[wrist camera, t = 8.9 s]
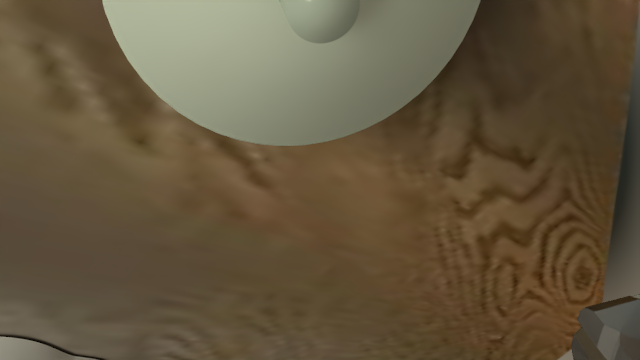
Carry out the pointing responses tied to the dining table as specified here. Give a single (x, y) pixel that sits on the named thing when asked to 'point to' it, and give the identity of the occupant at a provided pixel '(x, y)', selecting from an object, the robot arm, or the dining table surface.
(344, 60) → the lid
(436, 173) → the dining table surface
